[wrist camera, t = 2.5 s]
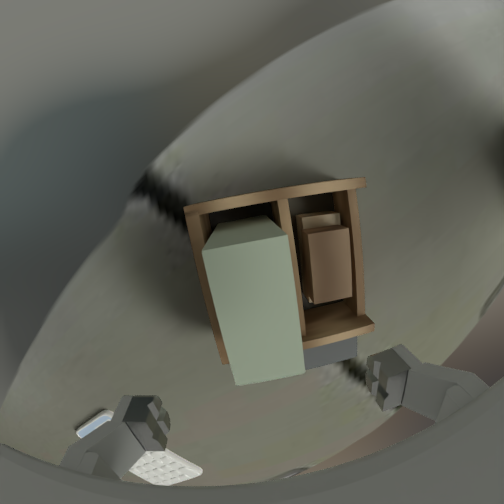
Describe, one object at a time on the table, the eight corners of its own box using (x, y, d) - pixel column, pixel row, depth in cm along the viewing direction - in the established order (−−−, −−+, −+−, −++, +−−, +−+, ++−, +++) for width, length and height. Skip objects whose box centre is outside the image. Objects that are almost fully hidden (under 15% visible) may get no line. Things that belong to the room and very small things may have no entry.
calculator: (161, 482, 36) (160, 489, 34) (76, 427, 32) (72, 434, 30) (205, 467, 35) (205, 475, 33) (108, 404, 31) (104, 412, 29)
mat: (355, 303, 28) (356, 305, 28) (355, 354, 30) (357, 356, 29) (247, 327, 28) (248, 329, 28) (258, 376, 30) (259, 379, 29)
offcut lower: (328, 210, 26) (339, 213, 23) (333, 286, 28) (343, 296, 25) (295, 214, 26) (302, 217, 23) (302, 291, 28) (309, 302, 25)
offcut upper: (338, 224, 23) (348, 228, 21) (342, 286, 25) (352, 296, 22) (300, 229, 23) (307, 234, 21) (307, 293, 25) (314, 304, 22)
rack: (338, 179, 25) (365, 177, 19) (350, 305, 28) (374, 330, 22) (195, 203, 25) (183, 207, 19) (224, 331, 28) (222, 364, 22)
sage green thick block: (264, 214, 26) (287, 235, 14) (279, 301, 28) (305, 373, 16) (218, 223, 26) (201, 251, 14) (236, 310, 28) (236, 385, 16)
